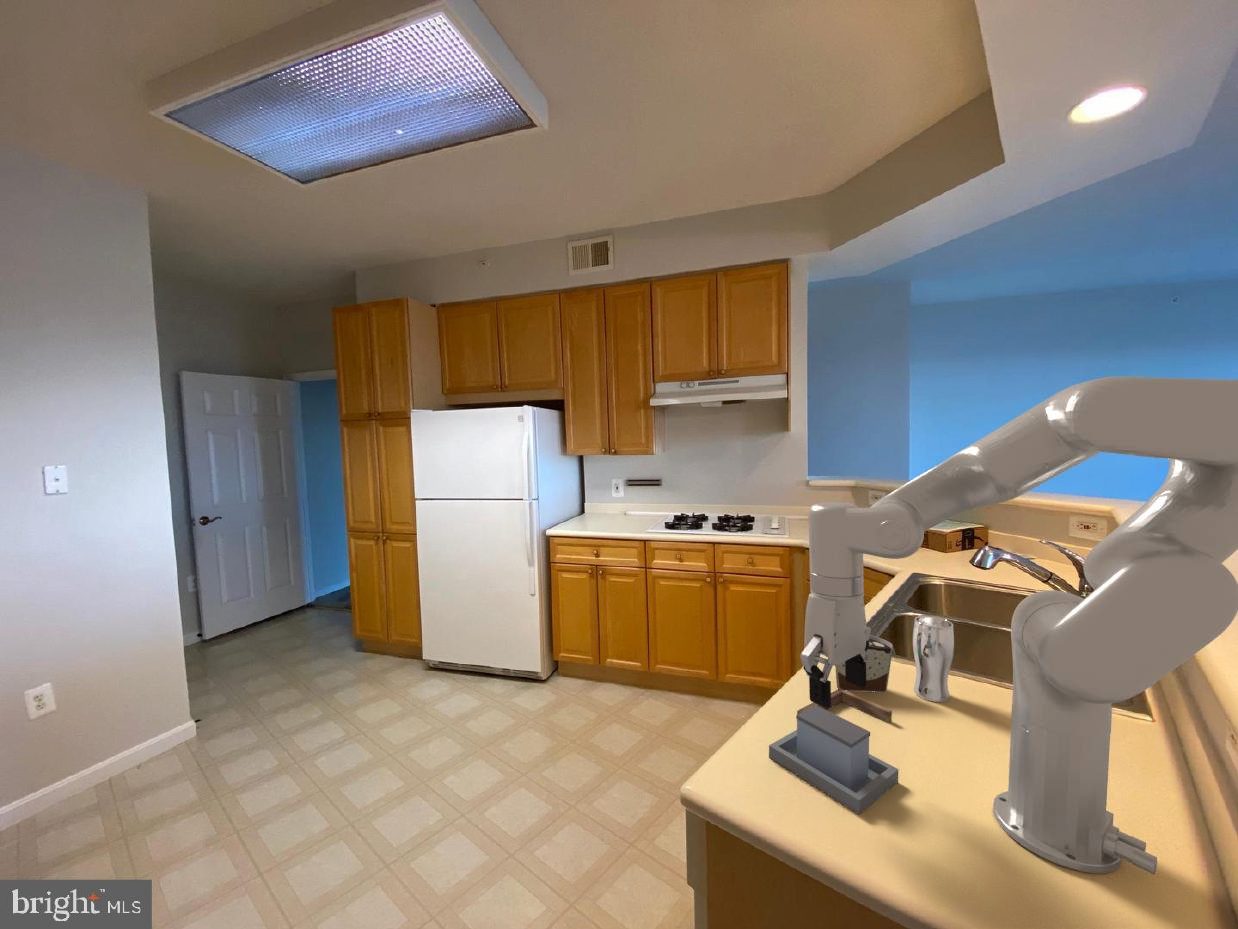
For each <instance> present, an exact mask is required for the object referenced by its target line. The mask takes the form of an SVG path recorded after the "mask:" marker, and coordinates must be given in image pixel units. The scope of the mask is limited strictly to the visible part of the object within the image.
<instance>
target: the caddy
mask: <svg viewBox="0 0 1238 929" xmlns="http://www.w3.org/2000/svg"><path fill="white" fill-rule="evenodd" d="M795 717H796V730H797V758H799V759H800V760H802V761H804V762H805V763H807V764H808V765H810V766H812V767H813V768H815V769H817V770H818V771H820V772H822V773H823V774H825V775H827V776H828V777H830V778H832V779H833V780H835V781H837V782H838V783H840V784H842V785H843V786H845V787H847V788H848V789H850V790H851V789H852V788H853V787H855V786H856V785H857V784H859V783H860V782H862V781H863V780H864V779H866V778H867V777H868V768H869V754H870V737H871V731H870V730H868V729H866V728H863V727H861V726H859V725H857V724H855V723H853V722H851V721H849V720H847V719H845V718H843V717H840V716H839V715H837V714H836V713H834V712H831V711H829V710H825V709H823V708H821V707H819V706H817V705H815V706H813V707H811V708H809V709H807V710H805V711H803V712H801V713H800V714H798V715H797V714H796V716H795Z"/></svg>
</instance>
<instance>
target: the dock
mask: <svg viewBox="0 0 1238 929" xmlns="http://www.w3.org/2000/svg"><path fill="white" fill-rule="evenodd" d="M838 703H839V704H841V703H843V704H846V705H848V706H850V705H851V707H852V708H855V709H858V710H859V711H861V712H863V711H864V712H863V713H865V714H868V715H870V716H872V717H874V718H876V719H879V720H881V721H883V722H885V723H888V724H890V723H892V719H893V718H892V717H893V716H892V715H893V711H892V710H891V709H889V708H886V707H885V706H882V705H880V704H877V703H875V702H874V701H871V700H869V699H866V698H864V697H861V696H859V695H857V694H854V693H852V692H851V691H846V690H843V689H841V688H839V689H836V690H834V691H831V707H830V709H831V708H833V707H835V706H837V705H839V704H838ZM815 705H817V706H819V707H821V708H823V709H825V710H827V711H829V710H830V709H829V708H828V709H827V708H825V707H823V706H820V705H818V704H816V703H814V702H811V703H809V704H807V705H806V706H804V707H802V708H800V709H798V710H796V715H798V714H800V713H801V712H803V711H805V710H807V709H809V708H811V707H813V706H815ZM834 705H835V706H834ZM832 706H833V707H832Z"/></svg>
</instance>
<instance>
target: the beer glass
mask: <svg viewBox="0 0 1238 929" xmlns="http://www.w3.org/2000/svg"><path fill="white" fill-rule="evenodd" d="M912 650H913V657H914V662H915V669H916V670H915V671H916V675H915V682H914V686H913V692H914V694H915V693H916V694H917V695H918V696H917V695H916V694H915V695H916V696H917V697H919V696H920V697H919V698H920V699H923V700H925V699H927V700H926V701H928V700H929V702H932V701H933V703H939V702H942V703H946V702H949V700H950V692H949V686H948V681H949V680H948V678H949V673H950V671H951V666H952V662H953V658H954V651H955V636H954V624H953V622H951V621H950V620H948V619H945V618H942V617H938V616H931V615H918V616H915V617H914V624H913V631H912Z"/></svg>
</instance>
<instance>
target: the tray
mask: <svg viewBox="0 0 1238 929" xmlns="http://www.w3.org/2000/svg"><path fill="white" fill-rule="evenodd" d="M768 759H771V760H772V761H774V762H775V763H777V764H779V766H782V767H783V768H785V769H787V770H788V771H790V772H791V773H793V774H795V775H796V776H798V777H799V778H801V779H802V780H804V781H806V782H807V783H808V784H810V785H811V786H813V787H815V788H817V789H818V790H820V791H821V792H823V793H824V794H826V795H828V796H830V798H832V799H834V800H835V801H837V802H838V803H840V804H842V805H843V806H845V807H846V808H848V809H850V810H851V811H853V812H854V813H856V814H857V815H860V814H861V813H862V812H864V811H865V810H866V809H868V808H869V807H870V806H871V805H872V804H874V803H875V802H876V801H877V800H878V799H879V798H881V797H882V796H883V795H884V794H885V793H886V792H888V791H889V790H891V788H893V787H894V786H895V785H897V783H899V768H897V767H895V766H893V765H891V764H889V763H887V762H886V761H883V760H882V759H881V758H878V757H876V756H874V755H872V754H870V753H869V768H868V777H867V778H866V779H864V780H863V781H862V782H860V783H859V784H857V785H856V786H855V787H853V788H852V789H851V790H850V789H848V788H847V787H845V786H843V785H842V784H840V783H838V782H837V781H835V780H833V779H832V778H830V777H828V776H827V775H825V774H823V773H822V772H820V771H818V770H817V769H815V768H813V767H812V766H810V765H808V764H807V763H805V762H804V761H802V760H800V759H799V758H797V729H795V730H794V731H792V732H790V733H788V734H787V735H784V736H783V737H781V738H779V739H778V740H776V741H774V742H773V743H771V744H769V745H768Z"/></svg>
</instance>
